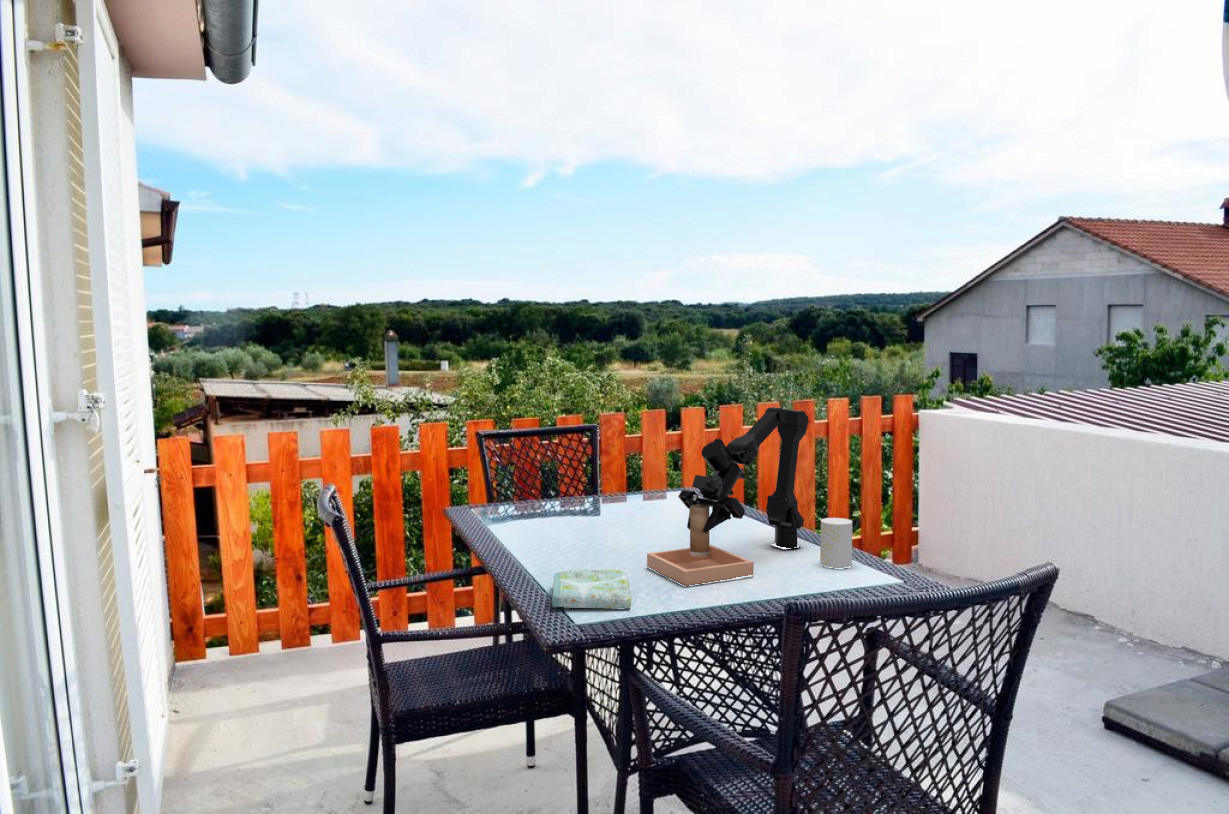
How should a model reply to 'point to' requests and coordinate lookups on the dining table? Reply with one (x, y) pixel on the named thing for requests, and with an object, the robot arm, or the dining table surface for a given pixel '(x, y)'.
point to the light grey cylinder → (836, 542)
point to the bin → (699, 565)
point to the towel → (591, 589)
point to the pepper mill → (699, 531)
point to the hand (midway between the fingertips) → (696, 530)
